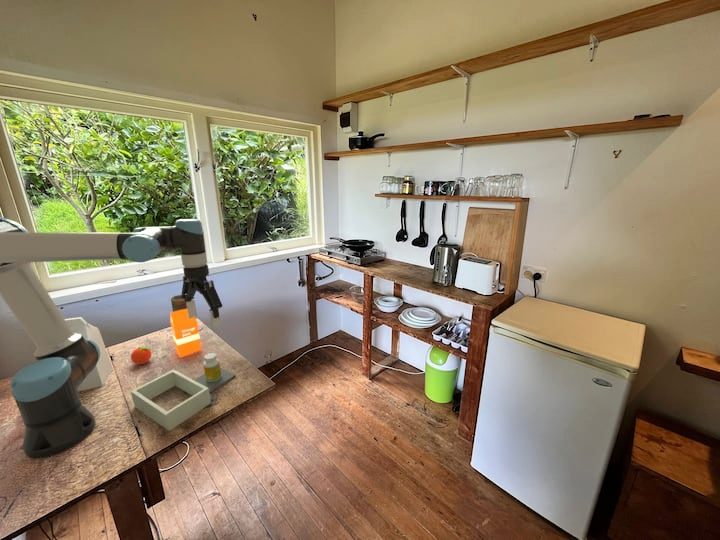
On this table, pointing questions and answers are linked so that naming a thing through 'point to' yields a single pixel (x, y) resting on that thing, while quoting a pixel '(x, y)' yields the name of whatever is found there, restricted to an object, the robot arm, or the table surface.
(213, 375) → the supplement bottle
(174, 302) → the brown rounded bar
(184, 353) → the orange juice
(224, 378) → the slate mat
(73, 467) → the table surface
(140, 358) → the clementine
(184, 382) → the open box
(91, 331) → the milk
